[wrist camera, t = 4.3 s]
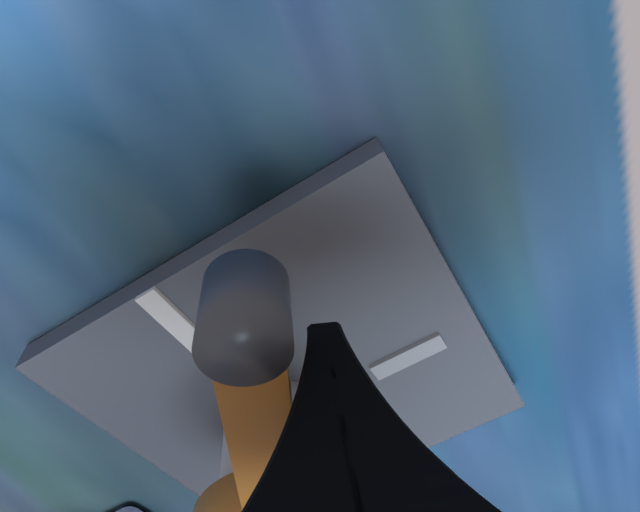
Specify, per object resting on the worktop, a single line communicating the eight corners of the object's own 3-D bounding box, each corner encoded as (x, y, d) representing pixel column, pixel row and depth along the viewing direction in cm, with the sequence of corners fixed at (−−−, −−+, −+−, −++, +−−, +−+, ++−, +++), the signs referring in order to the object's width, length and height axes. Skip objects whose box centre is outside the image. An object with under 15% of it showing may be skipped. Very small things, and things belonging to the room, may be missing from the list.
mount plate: (244, 504, 26) (241, 614, 22) (27, 344, 19) (-40, 463, 15) (513, 384, 23) (570, 486, 19) (376, 136, 16) (417, 212, 11)
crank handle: (366, 547, 19) (379, 626, 17) (208, 566, 19) (201, 649, 17) (373, 235, 11) (400, 307, 9) (104, 258, 11) (65, 339, 9)
